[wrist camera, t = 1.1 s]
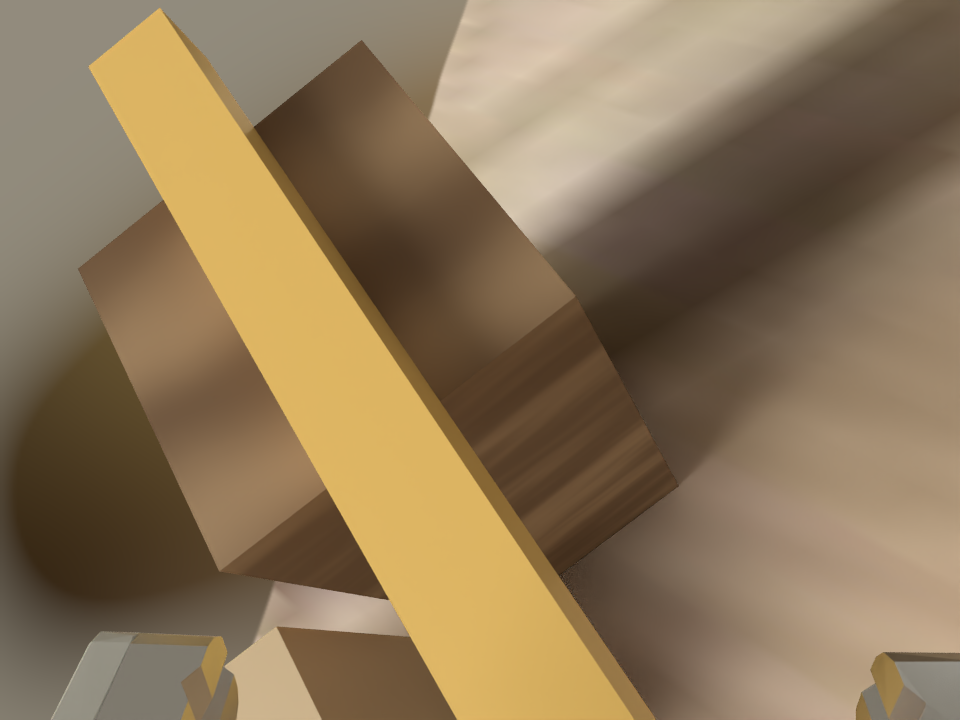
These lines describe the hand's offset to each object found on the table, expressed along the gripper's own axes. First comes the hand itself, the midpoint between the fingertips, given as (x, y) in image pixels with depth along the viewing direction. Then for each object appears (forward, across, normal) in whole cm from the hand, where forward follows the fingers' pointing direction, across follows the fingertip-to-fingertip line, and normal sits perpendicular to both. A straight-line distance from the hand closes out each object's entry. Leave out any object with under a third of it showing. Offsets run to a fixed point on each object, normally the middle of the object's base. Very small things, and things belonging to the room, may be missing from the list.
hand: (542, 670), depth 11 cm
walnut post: (+30, 0, +23) cm, 38 cm away
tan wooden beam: (+13, +5, +4) cm, 14 cm away
